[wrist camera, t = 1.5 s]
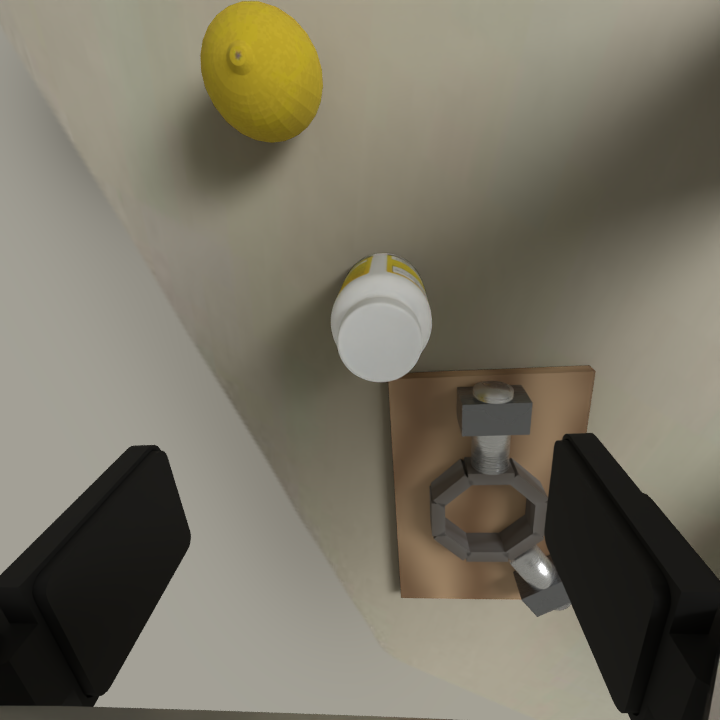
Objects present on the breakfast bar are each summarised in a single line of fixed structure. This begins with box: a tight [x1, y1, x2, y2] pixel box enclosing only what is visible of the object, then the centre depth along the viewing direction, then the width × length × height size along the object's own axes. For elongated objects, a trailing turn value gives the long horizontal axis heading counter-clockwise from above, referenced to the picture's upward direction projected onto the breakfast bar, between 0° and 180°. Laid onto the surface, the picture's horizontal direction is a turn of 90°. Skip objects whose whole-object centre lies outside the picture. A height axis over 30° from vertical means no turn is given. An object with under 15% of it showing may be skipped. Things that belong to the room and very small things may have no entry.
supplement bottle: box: [331, 253, 432, 382], centre depth 24 cm, size 5×5×10 cm
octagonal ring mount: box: [388, 365, 595, 599], centre depth 33 cm, size 14×22×3 cm, turn 5°
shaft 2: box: [508, 545, 571, 617], centre depth 34 cm, size 6×4×4 cm
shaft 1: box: [457, 381, 533, 475], centre depth 29 cm, size 6×4×4 cm
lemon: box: [201, 1, 323, 143], centre depth 20 cm, size 6×6×8 cm
